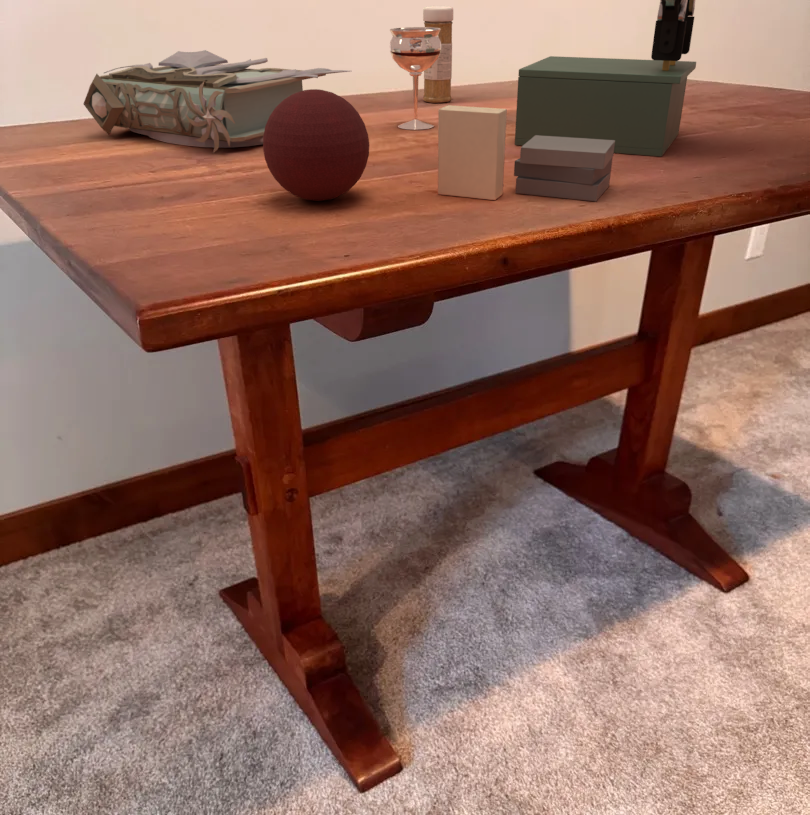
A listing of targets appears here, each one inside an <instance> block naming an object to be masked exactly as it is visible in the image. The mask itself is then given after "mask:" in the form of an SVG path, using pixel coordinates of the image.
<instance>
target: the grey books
mask: <svg viewBox="0 0 810 815" xmlns="http://www.w3.org/2000/svg"><path fill="white" fill-rule="evenodd" d="M614 146H615V140H603V139H587V138H571V137H555V136H539V135H535V136H534V137H533V138H532V139H530V140H529V141H528V142H527V143H526V144H524V145H523V146H520V154H519V158H517V159H516V160H514V167H513V176H514V177H515V194H519V195H528V196H529V195H530V196H538V197H549V198H559V199H566V200H567V199H569V200H578V201H589V202H598V200H599V198H601V197H602V195H603V194H604V193H605V192H606V191H607V190H608V188H609V187H610V182H611V174H612V167H613V166H612V165H613V158H614V154H615V153H614Z"/></svg>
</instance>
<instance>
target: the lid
mask: <svg viewBox="0 0 810 815" xmlns="http://www.w3.org/2000/svg"><path fill="white" fill-rule="evenodd" d="M696 66H697V61H690V60H688V61H687V60H678V61H662V60H653V59H637V58H636V59H635V58H634V59H633V58H605V57H581V56H555V55H554V56H552V55H550V56H548V57H545V58H543V59H540V60H538V61H536V62H533V63H531V64H528V65H525V66H524V67H521V68H519V69H518V74H517V75H518V77H520V76H521V77H542V78H563V79H585V80H606V81H627V82H648V83H670V84H680V83H681V82H682V81H683V80H684V79H685V78H686V77H687V78H688V76H689V75H691V73H692V72H693V71H694V70H696V68H697V67H696Z"/></svg>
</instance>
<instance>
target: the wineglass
mask: <svg viewBox="0 0 810 815" xmlns="http://www.w3.org/2000/svg"><path fill="white" fill-rule="evenodd" d="M440 30H441V29H440V28H432V27H425V26H413V27H412V26H405V27H395V28H390V29H389V32H390V34H391V40H390V42H389V52H390V55H391V56H390V57H391V58H392V60H393V61H394V62H395V64H396V65H397V66H398V67H399V68H400V69H403V70H404V71H406V72H408V73H409V76H410V77H412V91H413V93H412V94H413V115H414V119H412V120H409V121H406V122H403V123H401V124H398V125H397V127H398V128H399V129H403V130H414V131H415V130H429V129H431V128H433V127H435V125H434V124H432V123H430V122H427V121H423V120H420V119H418V111H419V110H418V106H419V81H420V80H419V77H421V76H422V74H423V73H424V71H425V70H426V69H428V68H430V67H431V66H432V65H433V64H434V63H435V61H436V60H437V59H438V58H439V55H440V52H441V41H440V39H439V37H438V34H439V32H440Z"/></svg>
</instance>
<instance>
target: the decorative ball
mask: <svg viewBox="0 0 810 815" xmlns="http://www.w3.org/2000/svg"><path fill="white" fill-rule="evenodd" d="M369 138H370V137H369V133H368V130H367V127H366V124H365V122H364V120H363V118H362V117H361V114H360V113H359V112H358V110H356V108H355V107H354V106H353V104H352V103H350V102H349V100H346V99H345V97H342V96H340V95H338V94H336V93H334V92H333V91H328V90H324V89H318V88H314V89H312V88H311V89H303V91H300V92H297V93H294V94H292V95H290V96H289V97H287V98H285V99H284V100H283V101H282V102H281V103H280V104H279V105H278V106H277V107H276V108H275V109H274V110H273V112H272V113H271V115H270V116H269V119H268V121H267V123H266V126H265V131H264V136H263V144H262V151H263V156H264V161H265V163H266V166H267V168H268V171H269V172H270V174H271V175H272V177H273V179H274V180H275V181H276V182H277V183H278V184H279V185H280V186H281V187H282V188H283V189H284V190H286V191H287V192H289V193H290V194H291V195H293V196H296V197H297V198H300V199H303V200H305V201H306V200H307V201H315V202H316V201H318V202H321V201H327V200H328V201H329V200H332V199H335V198H338V197H340V196H342V195H344V194H346V193H347V192H349V190H351V189H352V188H353V187H354V186H356V184H357V183H358V181H359V180H360V179H361V178H362V175H363V173H364V171H365V169H366V167H367V164H368V160H369V157H370V140H369Z"/></svg>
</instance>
